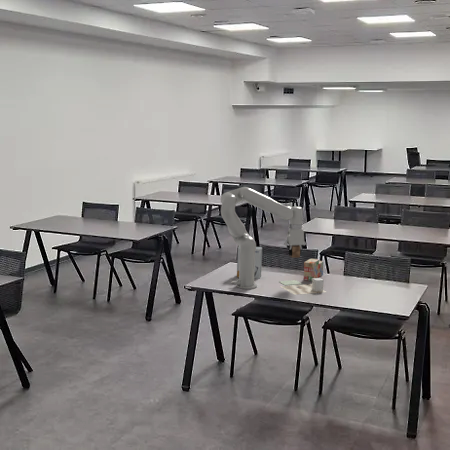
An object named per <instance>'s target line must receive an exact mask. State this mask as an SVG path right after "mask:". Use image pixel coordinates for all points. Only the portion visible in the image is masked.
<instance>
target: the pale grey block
mask: <svg viewBox="0 0 450 450" xmlns="http://www.w3.org/2000/svg"><path fill="white" fill-rule="evenodd" d="M311 284H312V290H313V291H315V292H319V291H323V290H324V279H323V278H321V277H318V278H312V281H311Z"/></svg>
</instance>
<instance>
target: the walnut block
mask: <svg viewBox="0 0 450 450" xmlns="http://www.w3.org/2000/svg"><path fill="white" fill-rule="evenodd" d="M291 250H292V256H290V255H289V254H288V257H290V258H293V259H294V258H295V259H296V258H297V259H298V258H301V254H300V246H298V245H292V249H291Z"/></svg>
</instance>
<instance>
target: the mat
mask: <svg viewBox="0 0 450 450" xmlns="http://www.w3.org/2000/svg"><path fill="white" fill-rule="evenodd" d="M278 283H280V284H282V286H292V285H303V283H302V282H300V281H299V280H296V279H295V280H294V279H293V280H281V281H280V280H279V281H278Z"/></svg>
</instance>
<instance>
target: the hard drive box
mask: <svg viewBox="0 0 450 450" xmlns="http://www.w3.org/2000/svg"><path fill="white" fill-rule="evenodd" d="M236 256H237V257H236V258H237V259H236V278H239V256H240V247H239V246H238V247H237V255H236ZM262 262H263V247H262V246H256V251H255V274H254V280H255V279H258V280H259V279H261V277H262V265H263V263H262Z"/></svg>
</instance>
